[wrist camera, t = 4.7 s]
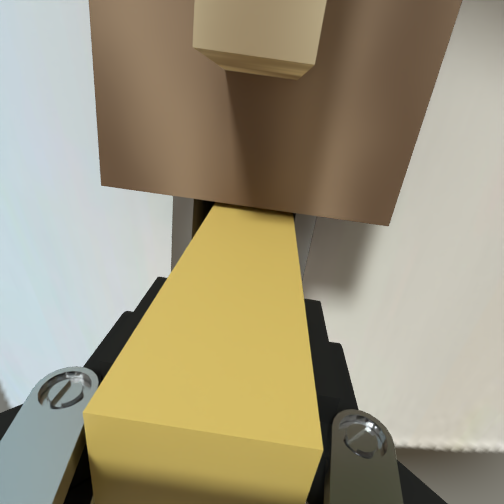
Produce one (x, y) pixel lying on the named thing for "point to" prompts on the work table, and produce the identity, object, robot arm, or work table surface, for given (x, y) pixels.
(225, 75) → the lid
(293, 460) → the yellow rectangular block
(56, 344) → the work table surface
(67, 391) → the robot arm
